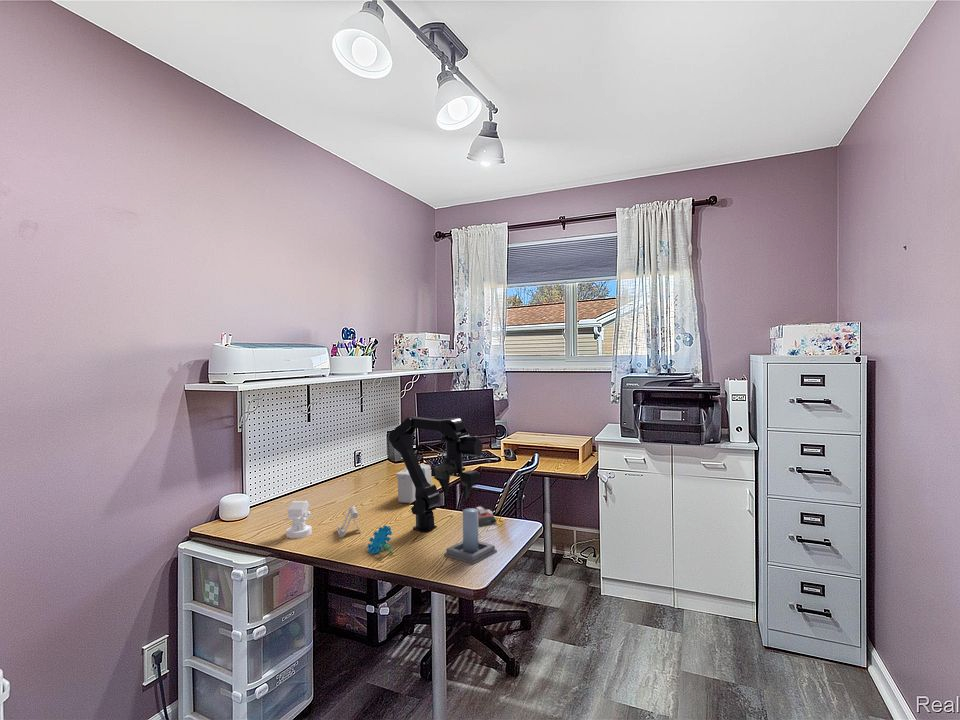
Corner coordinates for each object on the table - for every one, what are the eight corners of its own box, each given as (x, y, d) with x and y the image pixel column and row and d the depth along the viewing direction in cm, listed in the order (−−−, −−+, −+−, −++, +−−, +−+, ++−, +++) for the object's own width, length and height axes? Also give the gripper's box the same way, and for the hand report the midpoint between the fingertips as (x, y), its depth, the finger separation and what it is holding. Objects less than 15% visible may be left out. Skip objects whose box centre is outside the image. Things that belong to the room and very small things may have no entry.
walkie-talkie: (501, 524, 185) (482, 509, 203) (501, 512, 185) (482, 498, 203) (480, 527, 181) (462, 512, 200) (479, 515, 181) (462, 501, 200)
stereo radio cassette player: (412, 505, 211) (411, 458, 211) (395, 503, 214) (394, 458, 214) (432, 492, 231) (431, 449, 231) (416, 491, 234) (415, 449, 234)
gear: (362, 543, 163) (383, 519, 166) (374, 552, 166) (395, 528, 169) (372, 559, 154) (394, 533, 156) (384, 568, 156) (406, 543, 159)
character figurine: (315, 530, 183) (314, 498, 183) (303, 539, 173) (302, 505, 173) (293, 529, 184) (292, 497, 184) (280, 539, 174) (279, 505, 174)
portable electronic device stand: (337, 530, 182) (336, 508, 182) (358, 527, 184) (358, 505, 184) (339, 538, 174) (338, 514, 174) (361, 534, 176) (361, 511, 176)
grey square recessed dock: (444, 555, 156) (444, 548, 156) (468, 543, 165) (468, 537, 165) (473, 564, 148) (473, 557, 148) (497, 551, 158) (496, 545, 158)
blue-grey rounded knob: (459, 551, 156) (459, 511, 156) (469, 546, 160) (469, 507, 160) (471, 555, 153) (471, 514, 153) (481, 550, 157) (481, 510, 157)
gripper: (419, 455, 173) (420, 499, 173) (459, 460, 162) (460, 508, 162) (441, 450, 182) (442, 492, 182) (480, 455, 170) (481, 499, 170)
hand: (455, 497), depth 174 cm, fingers open, 9 cm apart
